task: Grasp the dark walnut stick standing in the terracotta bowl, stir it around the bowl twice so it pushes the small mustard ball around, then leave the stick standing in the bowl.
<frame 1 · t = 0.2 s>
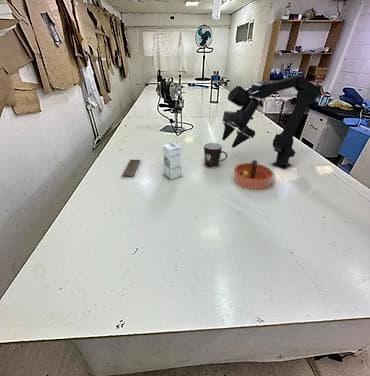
hand: (227, 143, 102), 15 cm above the table, tool tilted 30°, fingers open, 9 cm apart
coffee mug: (213, 166, 115), on the table
syrup box: (172, 175, 106), on the table
wooden plank: (131, 168, 111), on the table
ball: (245, 174, 103), point 2 cm above the table, touching bowl
stick: (252, 180, 101), point 1 cm above the table, touching bowl
bowl: (251, 181, 101), on the table
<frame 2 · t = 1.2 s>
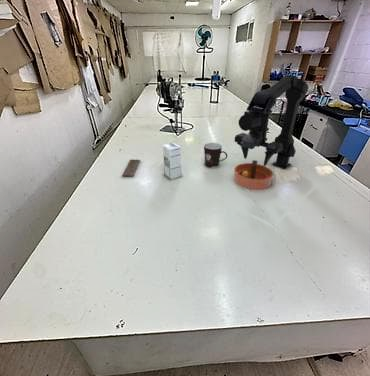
hand: (254, 161, 98), 9 cm above the table, tool pointing down, fingers open, 9 cm apart
nothing on the table moved.
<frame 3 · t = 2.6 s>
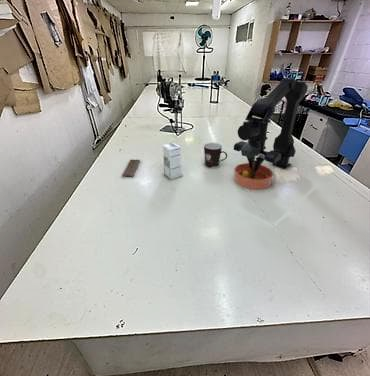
hand: (253, 169, 99), 6 cm above the table, tool pointing down, fingers closed on stick, 2 cm apart
stick: (252, 180, 101), point 1 cm above the table, touching bowl, gripper
everything else where it was.
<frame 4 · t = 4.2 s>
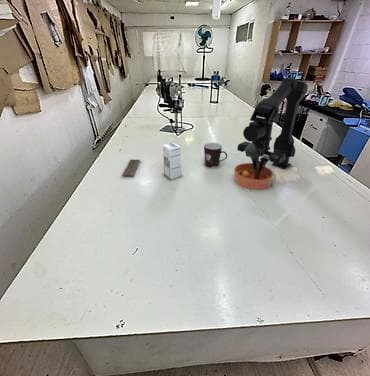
hand: (257, 170, 98), 6 cm above the table, tool pointing down, fingers closed on stick, 2 cm apart
stick: (256, 180, 100), point 1 cm above the table, touching gripper
everything else where it was.
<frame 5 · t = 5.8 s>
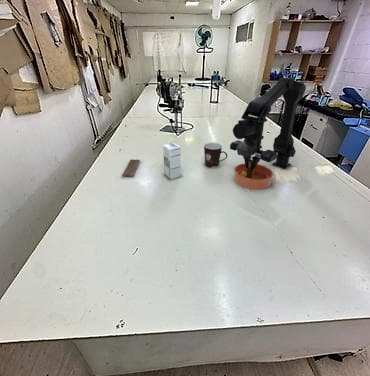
hand: (249, 169, 98), 6 cm above the table, tool pointing down, fingers closed on stick, 2 cm apart
ball: (243, 174, 103), point 2 cm above the table, tilted 19°, touching bowl
stick: (248, 179, 100), point 1 cm above the table, touching gripper
everything else where it was.
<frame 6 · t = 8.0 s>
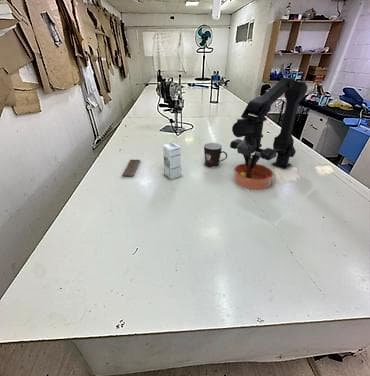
hand: (249, 167, 100), 6 cm above the table, tool pointing down, fingers closed on stick, 2 cm apart
ball: (242, 175, 102), point 2 cm above the table, tilted 35°, touching bowl
stick: (248, 177, 102), point 1 cm above the table, touching gripper
everything else where it was.
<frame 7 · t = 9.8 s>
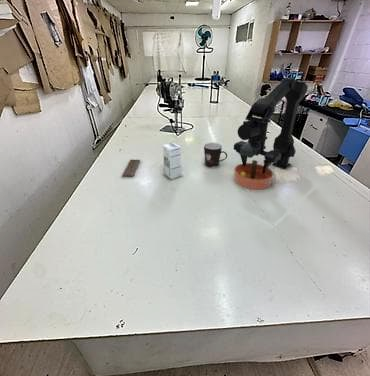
hand: (253, 169, 99), 6 cm above the table, tool pointing down, fingers open, 9 cm apart
stick: (252, 180, 101), point 1 cm above the table, touching bowl
everything else where it was.
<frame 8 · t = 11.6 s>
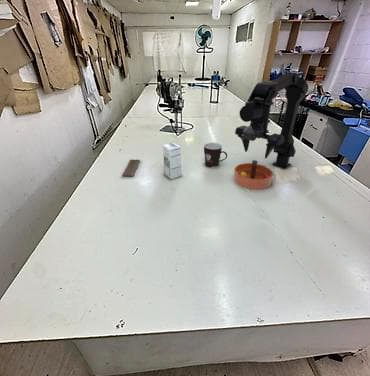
hand: (255, 154, 96), 12 cm above the table, tool pointing down, fingers open, 9 cm apart
nothing on the table moved.
at the end: stick inside the target area in the bowl (0.1 cm from its centre), point 0.6 cm above the bowl's base; ball moved 1.6 cm from its start; ball inside the target area in the bowl (3.8 cm from its centre), point 2.1 cm above the bowl's base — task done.
